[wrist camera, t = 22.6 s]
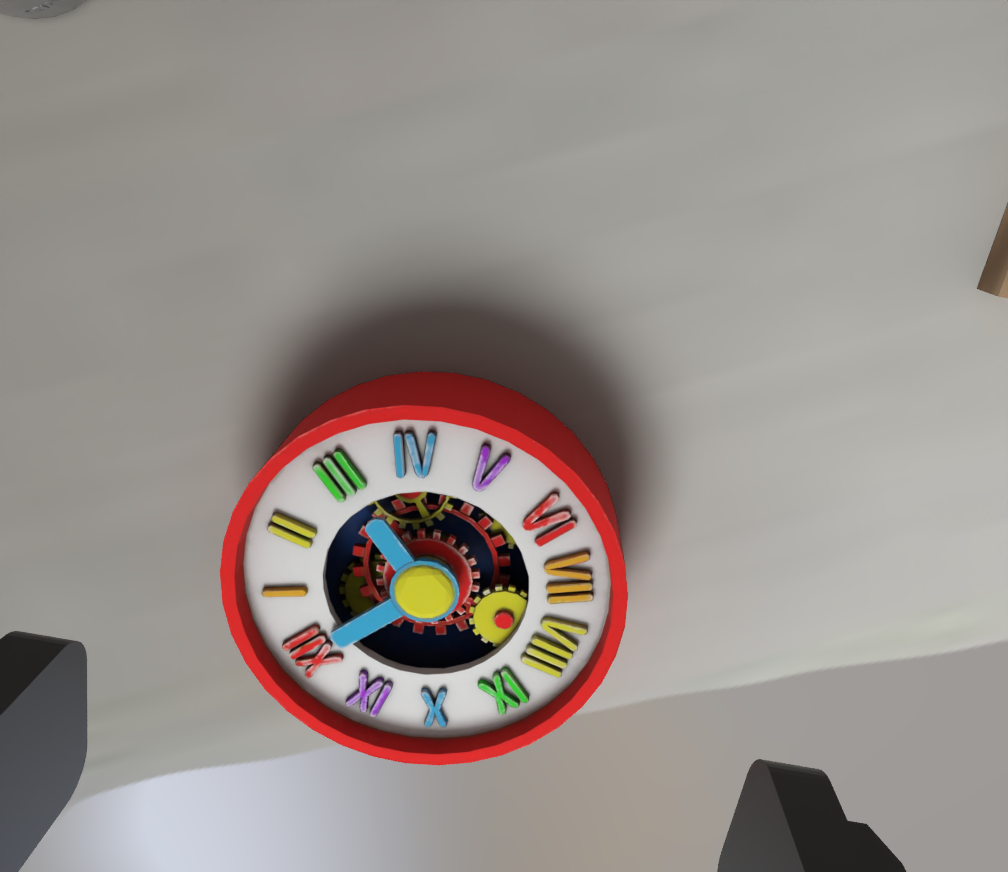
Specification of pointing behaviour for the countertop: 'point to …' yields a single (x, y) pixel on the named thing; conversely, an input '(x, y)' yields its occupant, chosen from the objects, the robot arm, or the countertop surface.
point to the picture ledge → (997, 263)
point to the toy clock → (427, 570)
